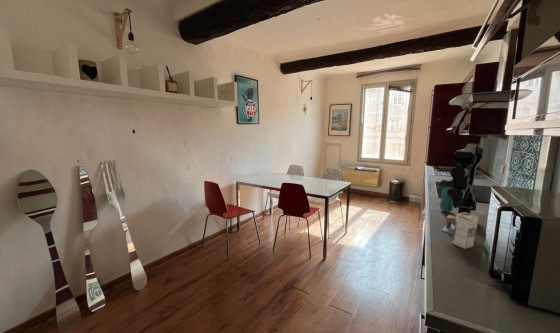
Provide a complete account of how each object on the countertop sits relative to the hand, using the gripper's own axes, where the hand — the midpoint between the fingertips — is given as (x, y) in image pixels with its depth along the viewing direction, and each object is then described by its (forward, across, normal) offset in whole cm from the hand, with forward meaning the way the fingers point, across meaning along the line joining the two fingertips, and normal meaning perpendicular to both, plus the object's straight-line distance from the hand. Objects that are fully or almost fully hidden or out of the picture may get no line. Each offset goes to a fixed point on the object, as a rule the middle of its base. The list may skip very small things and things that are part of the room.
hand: (457, 206), depth 117 cm
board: (+13, +2, +1) cm, 13 cm away
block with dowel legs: (+12, +2, +1) cm, 12 cm away
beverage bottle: (+13, -27, -11) cm, 32 cm away
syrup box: (+13, +16, +7) cm, 22 cm away
